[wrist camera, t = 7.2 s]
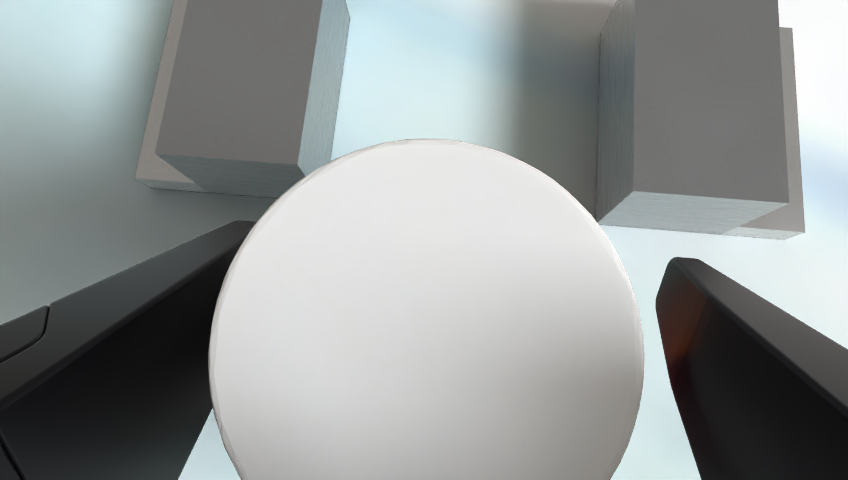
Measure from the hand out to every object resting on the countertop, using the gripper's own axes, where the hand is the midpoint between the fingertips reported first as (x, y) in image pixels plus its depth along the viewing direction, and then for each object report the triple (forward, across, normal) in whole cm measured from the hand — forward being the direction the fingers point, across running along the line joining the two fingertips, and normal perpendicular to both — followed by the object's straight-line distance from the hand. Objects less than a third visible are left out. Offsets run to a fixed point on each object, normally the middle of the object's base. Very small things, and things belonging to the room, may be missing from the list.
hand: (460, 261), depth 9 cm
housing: (+10, 0, +1) cm, 10 cm away
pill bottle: (+4, 0, +7) cm, 8 cm away
